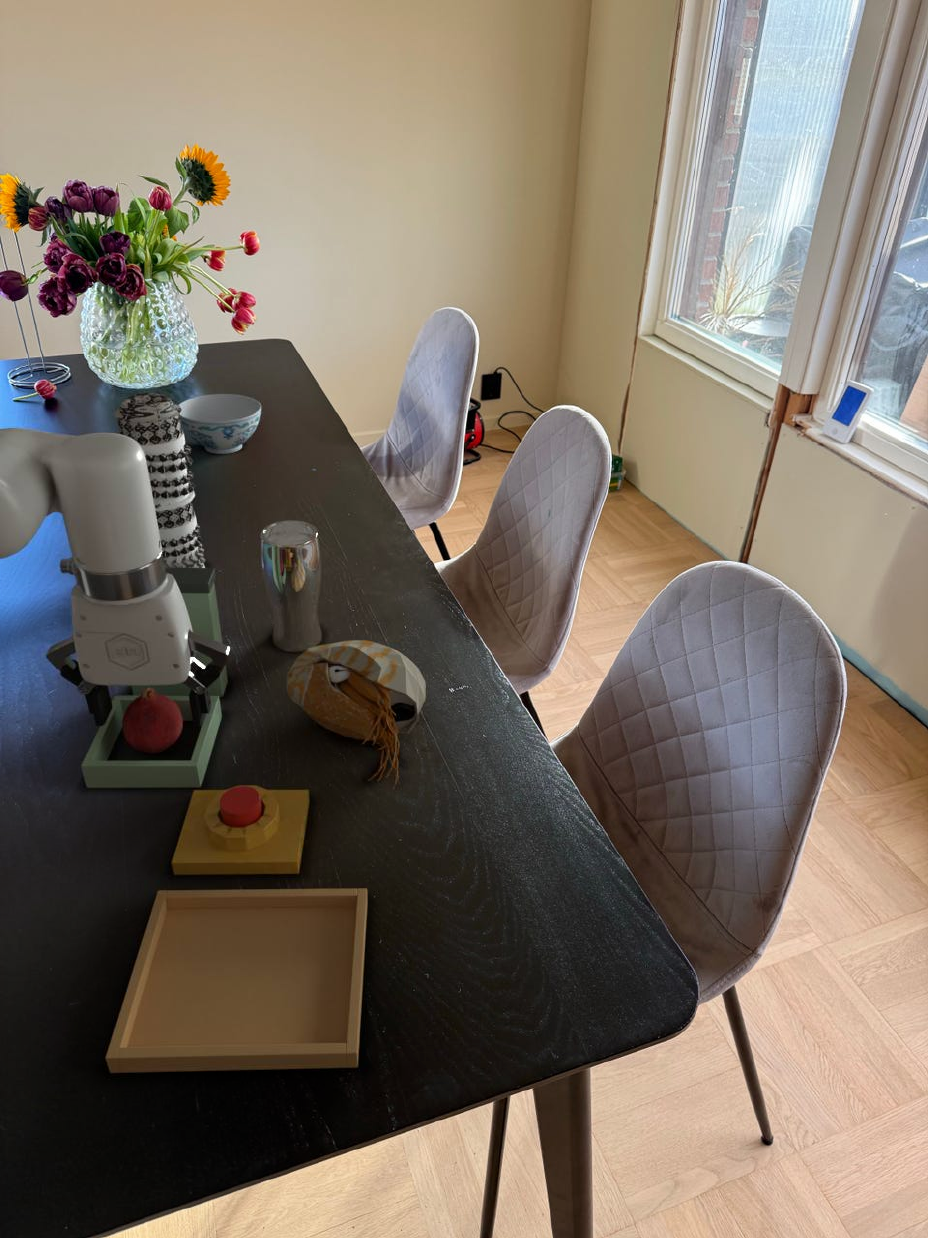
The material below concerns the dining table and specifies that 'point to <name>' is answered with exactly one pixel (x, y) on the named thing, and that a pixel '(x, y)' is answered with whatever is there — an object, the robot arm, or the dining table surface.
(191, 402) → the chinaware
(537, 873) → the dining table surface
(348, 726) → the nautilus
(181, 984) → the oak tray
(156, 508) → the decorative candle
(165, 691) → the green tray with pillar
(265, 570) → the beer glass
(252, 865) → the button panel
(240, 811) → the button
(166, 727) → the pomegranate
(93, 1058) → the dining table surface
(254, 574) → the dining table surface
